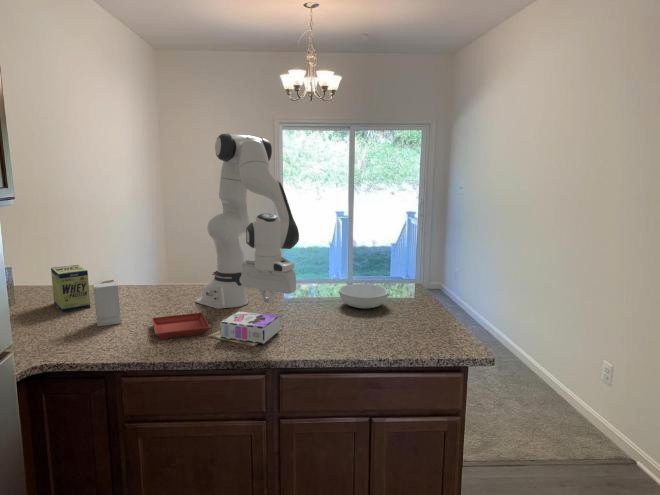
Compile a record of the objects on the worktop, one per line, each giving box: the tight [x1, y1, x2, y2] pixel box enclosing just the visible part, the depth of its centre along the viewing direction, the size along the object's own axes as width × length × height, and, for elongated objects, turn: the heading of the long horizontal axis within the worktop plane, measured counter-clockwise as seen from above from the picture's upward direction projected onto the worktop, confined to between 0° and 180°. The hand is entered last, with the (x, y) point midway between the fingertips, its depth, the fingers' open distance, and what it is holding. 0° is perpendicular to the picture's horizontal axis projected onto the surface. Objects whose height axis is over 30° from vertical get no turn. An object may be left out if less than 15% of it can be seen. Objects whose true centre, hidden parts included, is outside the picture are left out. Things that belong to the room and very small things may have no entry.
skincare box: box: [92, 281, 122, 327], centre depth 172 cm, size 8×6×15 cm
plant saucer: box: [151, 312, 211, 340], centre depth 168 cm, size 18×18×3 cm
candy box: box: [219, 310, 281, 344], centre depth 162 cm, size 14×6×16 cm
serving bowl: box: [338, 283, 389, 310], centre depth 200 cm, size 21×21×7 cm
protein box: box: [50, 264, 91, 313], centre depth 192 cm, size 10×16×16 cm
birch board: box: [209, 327, 283, 347], centre depth 165 cm, size 18×18×1 cm
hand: (268, 302), depth 160 cm, fingers closed
